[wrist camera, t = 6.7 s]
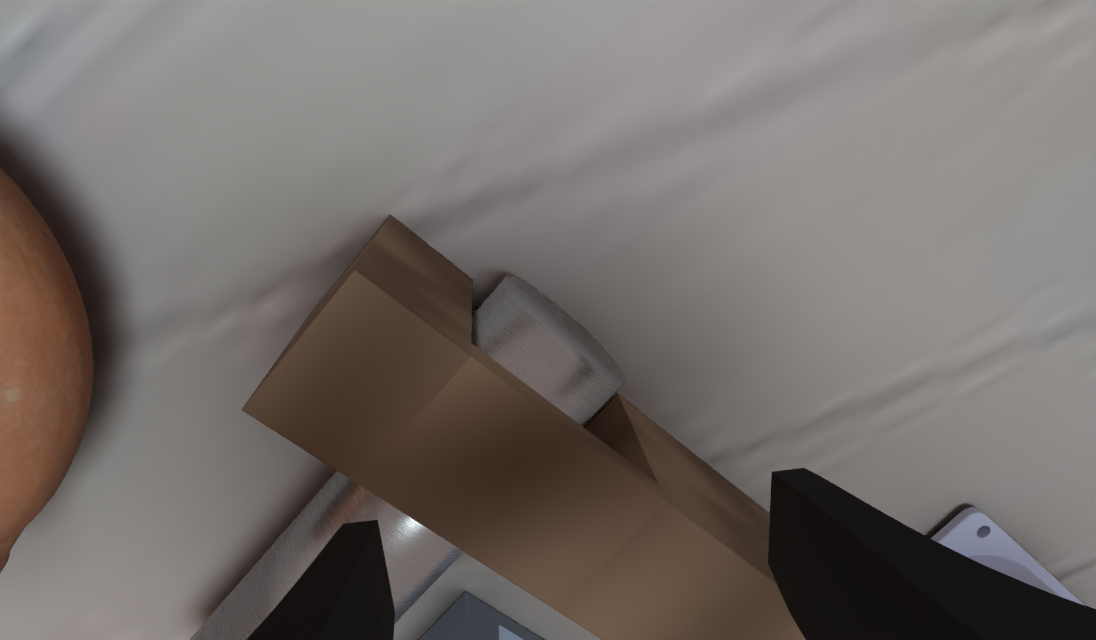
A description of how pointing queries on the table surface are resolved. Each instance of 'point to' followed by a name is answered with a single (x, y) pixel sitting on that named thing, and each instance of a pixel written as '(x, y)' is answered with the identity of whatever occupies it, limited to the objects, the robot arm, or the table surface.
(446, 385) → the beam
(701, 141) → the table surface
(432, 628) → the cradle
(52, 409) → the ceramic jug
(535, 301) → the axle
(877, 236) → the table surface
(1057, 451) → the table surface
